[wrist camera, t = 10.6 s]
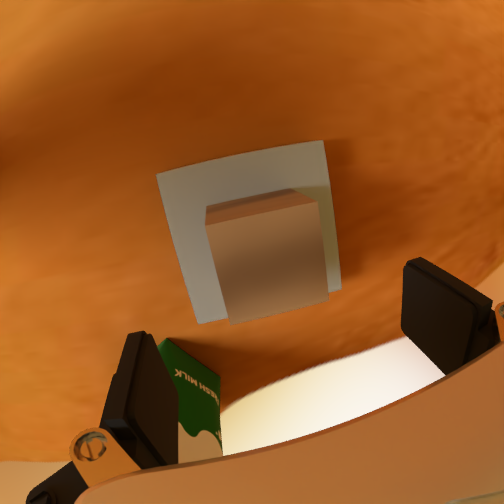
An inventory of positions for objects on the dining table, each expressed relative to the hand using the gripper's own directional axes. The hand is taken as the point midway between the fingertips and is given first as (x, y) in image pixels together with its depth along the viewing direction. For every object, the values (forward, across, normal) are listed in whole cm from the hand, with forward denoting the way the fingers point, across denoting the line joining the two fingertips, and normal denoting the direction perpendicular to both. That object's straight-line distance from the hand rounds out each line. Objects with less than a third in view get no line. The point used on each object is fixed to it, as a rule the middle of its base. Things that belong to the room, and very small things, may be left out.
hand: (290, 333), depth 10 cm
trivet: (+15, -1, 0) cm, 15 cm away
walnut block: (+13, -1, 0) cm, 13 cm away
